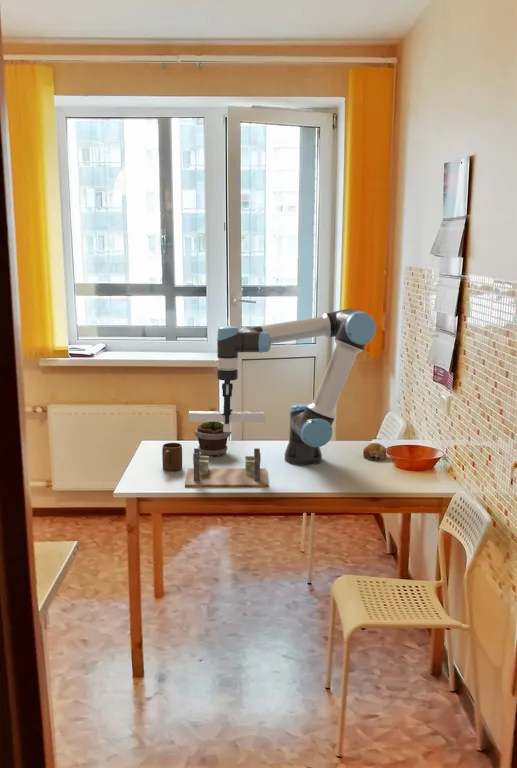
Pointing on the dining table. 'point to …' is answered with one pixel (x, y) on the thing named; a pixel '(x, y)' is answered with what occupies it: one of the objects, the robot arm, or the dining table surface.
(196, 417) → the rail
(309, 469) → the dining table surface
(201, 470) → the rack
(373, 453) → the bread roll
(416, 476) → the dining table surface
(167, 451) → the mug
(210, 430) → the flowerpot
